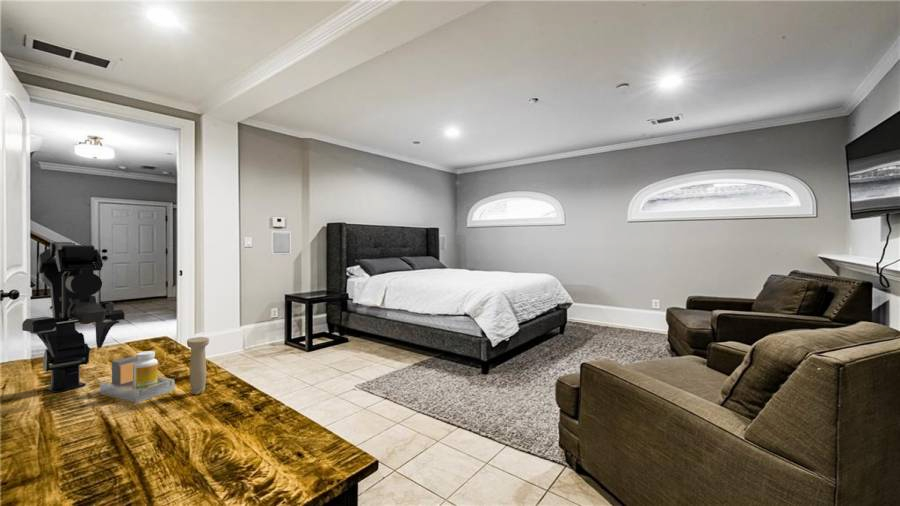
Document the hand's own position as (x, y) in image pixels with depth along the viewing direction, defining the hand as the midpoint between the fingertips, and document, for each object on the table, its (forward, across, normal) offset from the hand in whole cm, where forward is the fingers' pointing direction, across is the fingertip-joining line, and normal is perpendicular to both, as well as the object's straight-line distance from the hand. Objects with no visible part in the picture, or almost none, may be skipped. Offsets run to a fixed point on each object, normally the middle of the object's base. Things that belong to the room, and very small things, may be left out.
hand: (77, 352), depth 99 cm
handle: (+13, +16, -23) cm, 31 cm away
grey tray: (+13, +10, -7) cm, 18 cm away
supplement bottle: (+12, +10, -10) cm, 18 cm away
